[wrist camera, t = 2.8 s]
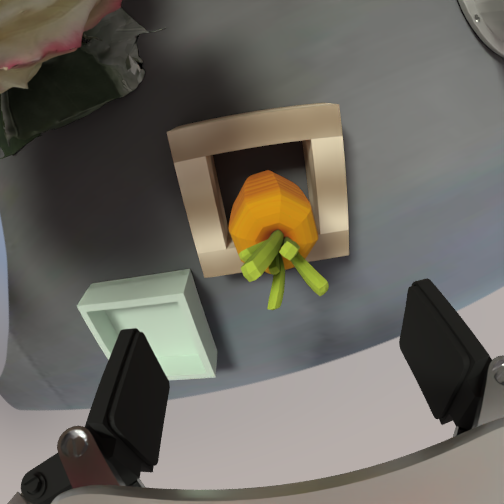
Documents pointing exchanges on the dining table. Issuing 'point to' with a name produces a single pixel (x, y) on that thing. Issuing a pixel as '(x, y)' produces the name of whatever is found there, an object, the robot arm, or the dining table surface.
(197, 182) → the wooden stand
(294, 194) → the carrot
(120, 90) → the rose bouquet
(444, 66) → the dining table surface
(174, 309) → the tray
